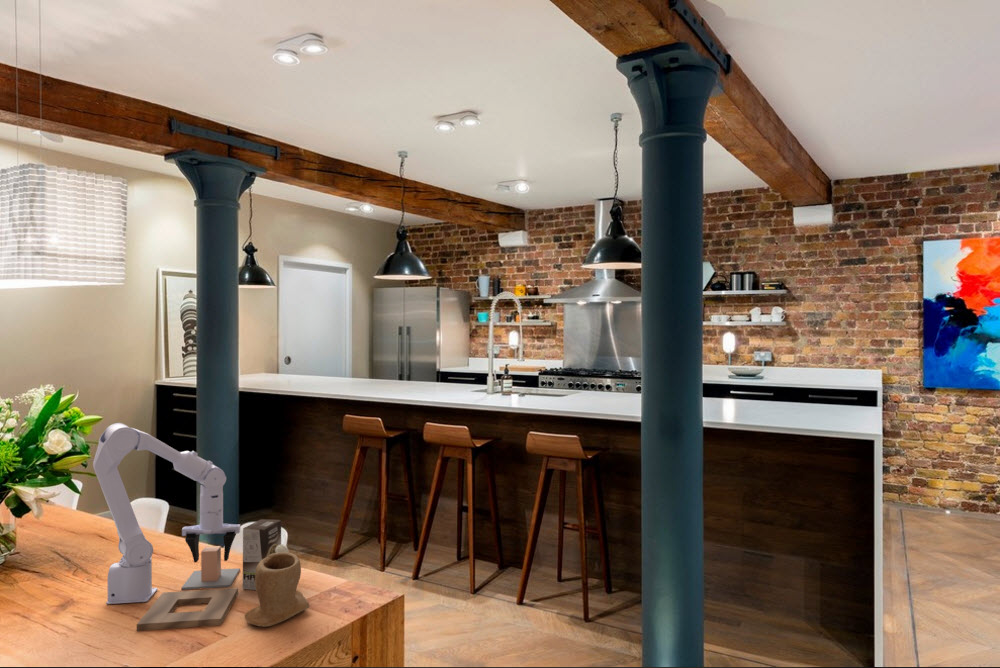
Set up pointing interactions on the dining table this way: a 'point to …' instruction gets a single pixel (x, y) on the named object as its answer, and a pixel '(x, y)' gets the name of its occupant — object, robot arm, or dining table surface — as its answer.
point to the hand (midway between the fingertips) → (211, 560)
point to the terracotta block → (211, 563)
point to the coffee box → (258, 547)
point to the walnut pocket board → (168, 601)
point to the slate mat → (223, 581)
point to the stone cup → (277, 590)
